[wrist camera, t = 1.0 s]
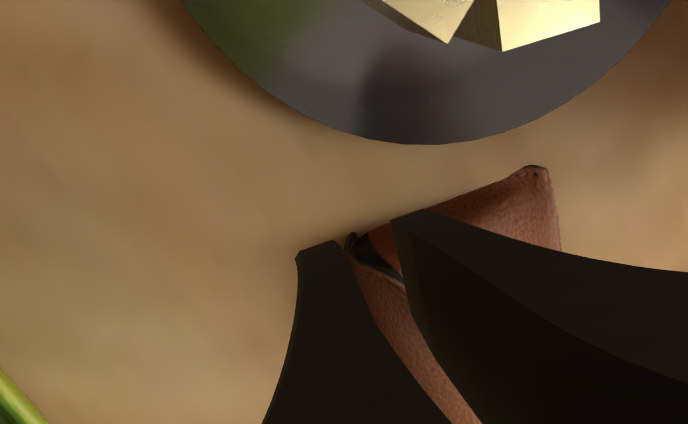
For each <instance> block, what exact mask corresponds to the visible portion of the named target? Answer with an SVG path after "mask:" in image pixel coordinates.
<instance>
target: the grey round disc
mask: <svg viewBox="0 0 688 424" xmlns="http://www.w3.org/2000/svg"><path fill="white" fill-rule="evenodd" d="M181 1H182V2H183V4H184V5H185V7H186V8H187V9H188V11H189V12H190V13H191V15H192V16H193V18H194V19H195V20H196V22H197V23H198V24H199V26H200V27H201V29H202V30H203V31H204V33H205V34H206V35H207V36H208V37H209V38H210V39H211V40H212V41H213V43H214V44H215V45H216V46H217V47H218V48H219V49H220V50H221V51H222V52H223V53H224V54H225V55H226V56H227V58H228V59H229V60H230V61H231V62H232V63H233V64H234V65H235V66H236V67H237V68H238V69H240V70H241V71H242V72H243V73H244V74H246V75H247V76H248V77H249V78H251V79H252V80H253V81H254V82H255V83H257V84H258V85H259V86H260V87H261V88H263V89H264V90H265V91H266V92H267V93H269V94H271V95H272V96H274V97H275V98H277V99H279V100H280V101H282V102H283V103H285V104H287V105H288V106H290V107H291V108H293V109H295V110H296V111H298V112H299V113H301V114H303V115H305V116H308V117H310V118H312V119H314V120H316V121H319V122H321V123H323V124H325V125H327V126H330V127H332V128H334V129H337V130H340V131H344V132H347V133H350V134H354V135H357V136H361V137H364V138H367V139H372V140H379V141H385V142H392V143H398V144H420V145H440V144H448V143H456V142H464V141H472V140H476V139H479V138H483V137H487V136H491V135H495V134H499V133H503V132H506V131H508V130H511V129H513V128H516V127H518V126H521V125H523V124H526V123H528V122H531V121H533V120H536V119H537V118H539V117H541V116H543V115H545V114H547V113H548V112H550V111H552V110H554V109H556V108H558V107H559V106H561V105H563V104H565V103H567V102H568V101H569V100H571V99H572V98H574V97H575V96H576V95H578V94H579V93H581V92H582V91H584V90H585V89H586V88H588V87H589V86H591V85H592V84H593V83H595V82H596V81H597V80H598V79H599V78H601V77H602V76H603V75H604V74H605V73H606V72H607V71H609V70H610V69H611V68H612V67H613V66H614V65H615V64H616V63H618V62H619V61H620V60H621V59H622V58H623V57H624V56H625V55H626V54H627V53H628V52H629V50H630V49H631V48H632V47H633V46H634V45H635V44H636V43H637V42H638V41H639V40H640V39H641V37H642V36H643V35H644V34H645V33H646V32H647V31H648V30H649V28H650V27H651V26H652V24H653V23H654V22H655V20H656V19H657V18H658V16H659V15H660V14H661V12H662V11H663V10H664V8H665V7H666V6H667V4H668V3H669V2H670V0H599V12H600V22H598V23H594V24H591V25H588V26H585V27H581V28H578V29H575V30H572V31H568V32H565V33H562V34H559V35H555V36H552V37H549V38H546V39H542V40H539V41H536V42H533V43H529V44H526V45H523V46H520V47H516V48H513V49H510V50H507V51H503V52H502V51H498V50H495V49H492V48H489V47H485V46H482V45H479V44H476V43H472V42H469V41H466V40H463V39H459V38H456V37H453V36H452V37H451V39H450V41H449V42H448V44H446V43H443V42H440V41H437V40H434V39H431V38H428V37H425V36H422V35H419V34H416V33H413V32H410V31H407V30H405V29H403V28H402V27H400V26H399V25H397V24H396V23H394V22H393V21H391V20H390V19H388V18H386V17H385V16H383V15H382V14H380V13H379V12H377V11H376V10H374V9H373V8H371V7H370V6H368V5H367V4H365V3H364V2H362V1H361V0H181Z"/></svg>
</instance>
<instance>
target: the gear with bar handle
mask: <svg viewBox="0 0 688 424" xmlns="http://www.w3.org/2000/svg"><path fill="white" fill-rule="evenodd" d="M361 1H362V2H364V3H365V4H367V5H368V6H370V7H371V8H373V9H374V10H376V11H377V12H379V13H380V14H382V15H383V16H385V17H386V18H388V19H390V20H391V21H393V22H394V23H396V24H397V25H399V26H400V27H402V28H403V29H405V30H407V31H410V32H413V33H416V34H419V35H422V36H425V37H428V38H431V39H434V40H437V41H440V42H443V43H446V44H448V42H449V41H450V39H451V37H452V36H453V37H456V38H459V39H463V40H466V41H469V42H472V43H476V44H479V45H482V46H485V47H489V48H492V49H495V50H498V51H502V52H503V51H507V50H510V49H513V48H516V47H520V46H523V45H526V44H529V43H533V42H536V41H539V40H542V39H546V38H549V37H552V36H555V35H559V34H562V33H565V32H568V31H572V30H575V29H578V28H581V27H585V26H588V25H591V24H594V23H598V22H600V12H599V0H361Z"/></svg>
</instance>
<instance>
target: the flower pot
mask: <svg viewBox="0 0 688 424" xmlns="http://www.w3.org/2000/svg"><path fill="white" fill-rule="evenodd" d="M0 424H49V423H48V421H47V420H46V419H45V418H44V417H43V416H42V414H41V413H40V412H39V411H38V410H37V409H36V408H35V407H34V405H33V404H32V403H31V402H30V401H29V400H28V399H27V398H26V396H25V395H24V394H23V393H22V392H21V391H20V390H19V389H18V387H17V386H16V385H15V384H14V383H13V382H12V381H11V380H10V378H9V377H8V376H7V375H6V374H5V373H4V372H3V371H2V369H1V368H0Z"/></svg>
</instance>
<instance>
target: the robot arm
mask: <svg viewBox="0 0 688 424" xmlns="http://www.w3.org/2000/svg"><path fill="white" fill-rule="evenodd" d="M390 222H391V226H392V231H393V235H394V240H395V244H396V249H397V253H398V258H399V262H400V267H401V271H402V276H403V280H404V285H405V289H406V294H407V298H408V303H409V307H410V312H411V316H412V317H413V319H414V321H415V323H416V325H417V327H418V329H419V331H420V332H421V334H422V336H423V338H424V340H425V342H426V344H427V345H428V347H429V349H430V351H431V353H432V354H433V356H434V358H435V360H436V361H437V363H438V364H439V365H440V367H441V368H442V370H443V371H444V372H445V374H446V375H447V377H448V378H449V379H450V381H451V382H452V383H453V385H454V386H455V388H456V389H457V390H458V392H459V393H460V394H461V396H462V397H463V399H464V400H465V401H466V403H467V404H468V405H469V407H470V408H471V409H472V411H473V412H474V414H475V415H476V416H477V418H478V419H479V420H480V422H481V423H482V424H688V272H679V271H669V270H660V269H652V268H645V267H637V266H631V265H625V264H620V263H614V262H608V261H603V260H597V259H591V258H587V257H582V256H577V255H573V254H568V253H564V252H561V251H557V250H553V249H549V248H545V247H541V246H537V245H534V244H530V243H527V242H523V241H520V240H516V239H513V238H510V237H507V236H504V235H501V234H497V233H494V232H491V231H488V230H485V229H482V228H479V227H476V226H474V225H471V224H468V223H465V222H462V221H459V220H456V219H453V218H451V217H448V216H445V215H442V214H439V213H436V212H432V211H429V210H425V209H422V210H419V211H416V212H413V213H410V214H407V215H404V216H401V217H398V218H395V219H392V220H390ZM295 261H296V264H297V270H298V290H297V300H296V308H295V316H294V322H293V327H292V332H291V336H290V341H289V345H288V350H287V354H286V358H285V361H284V365H283V368H282V372H281V375H280V378H279V381H278V384H277V387H276V389H275V392H274V395H273V398H272V401H271V403H270V406H269V408H268V410H267V413H266V415H265V417H264V420H263V422H262V424H452V423H451V422H450V420H449V419H448V418H447V417H446V416H445V414H444V413H443V412H442V411H441V410H440V409H439V407H438V406H437V405H436V404H435V403H434V401H433V400H432V399H431V398H430V397H429V396H428V394H427V393H426V392H425V391H424V390H423V388H422V387H421V386H420V384H419V383H418V382H417V380H416V379H415V378H414V376H413V375H412V374H411V372H410V371H409V370H408V368H407V367H406V366H405V365H404V363H403V362H402V361H401V359H400V358H399V356H398V355H397V354H396V352H395V351H394V349H393V348H392V346H391V345H390V343H389V342H388V341H387V339H386V338H385V336H384V335H383V333H382V332H381V330H380V329H379V328H378V326H377V324H376V322H375V320H374V318H373V316H372V314H371V312H370V310H369V307H368V305H367V303H366V300H365V298H364V295H363V293H362V291H361V288H360V286H359V283H358V281H357V279H356V276H355V274H354V271H353V269H352V267H351V264H350V262H349V260H348V257H347V255H346V253H345V251H344V250H343V249H342V248H341V247H340V245H338V244H337V243H336V242H335V241H334V240H331V241H328V242H325V243H322V244H319V245H316V246H313V247H310V248H307V249H304V250H301V251H299V253H298V255H297V256H296V258H295Z"/></svg>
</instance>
